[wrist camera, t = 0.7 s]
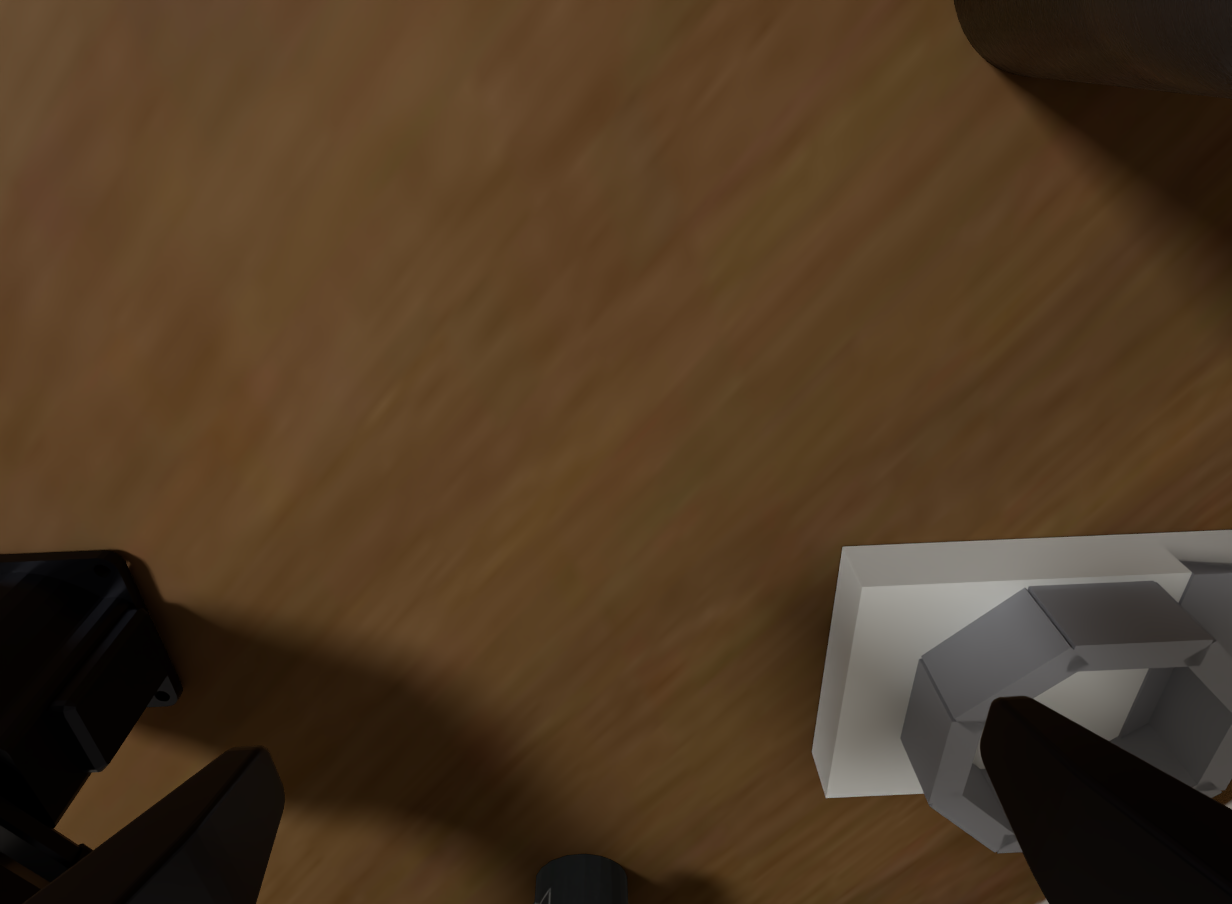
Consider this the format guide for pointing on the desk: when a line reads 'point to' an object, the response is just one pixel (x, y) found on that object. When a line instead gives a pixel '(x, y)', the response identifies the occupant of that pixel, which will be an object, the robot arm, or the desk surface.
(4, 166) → the desk surface
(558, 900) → the scope
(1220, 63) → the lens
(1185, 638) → the octagonal ring on plate
